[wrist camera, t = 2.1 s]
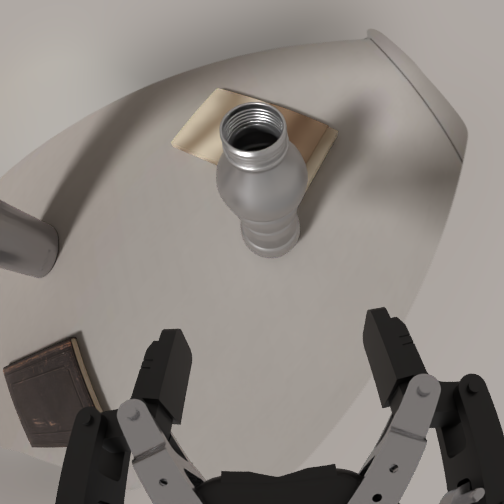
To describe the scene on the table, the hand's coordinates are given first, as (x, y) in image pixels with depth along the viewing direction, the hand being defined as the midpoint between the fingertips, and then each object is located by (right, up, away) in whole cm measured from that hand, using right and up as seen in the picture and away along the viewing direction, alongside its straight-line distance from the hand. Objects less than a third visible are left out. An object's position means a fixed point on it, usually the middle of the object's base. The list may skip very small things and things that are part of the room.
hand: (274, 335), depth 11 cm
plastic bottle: (+1, +6, +22) cm, 22 cm away
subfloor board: (-1, +19, +25) cm, 31 cm away
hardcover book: (-33, -21, +20) cm, 44 cm away
